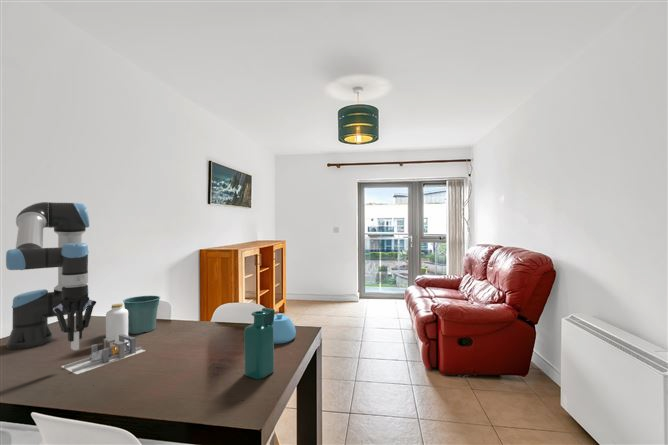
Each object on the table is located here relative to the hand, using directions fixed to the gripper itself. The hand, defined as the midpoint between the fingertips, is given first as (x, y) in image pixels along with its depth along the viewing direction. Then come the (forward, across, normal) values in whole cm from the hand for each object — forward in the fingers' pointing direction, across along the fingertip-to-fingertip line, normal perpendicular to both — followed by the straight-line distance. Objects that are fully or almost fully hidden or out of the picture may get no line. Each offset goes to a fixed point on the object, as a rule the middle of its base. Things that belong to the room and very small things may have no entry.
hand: (75, 348), depth 117 cm
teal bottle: (+7, +32, -62) cm, 70 cm away
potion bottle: (+9, +21, +13) cm, 26 cm away
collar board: (+8, +10, -1) cm, 13 cm away
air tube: (+7, +12, -1) cm, 14 cm away
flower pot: (+9, +38, +24) cm, 46 cm away
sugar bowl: (+8, +62, -46) cm, 77 cm away
